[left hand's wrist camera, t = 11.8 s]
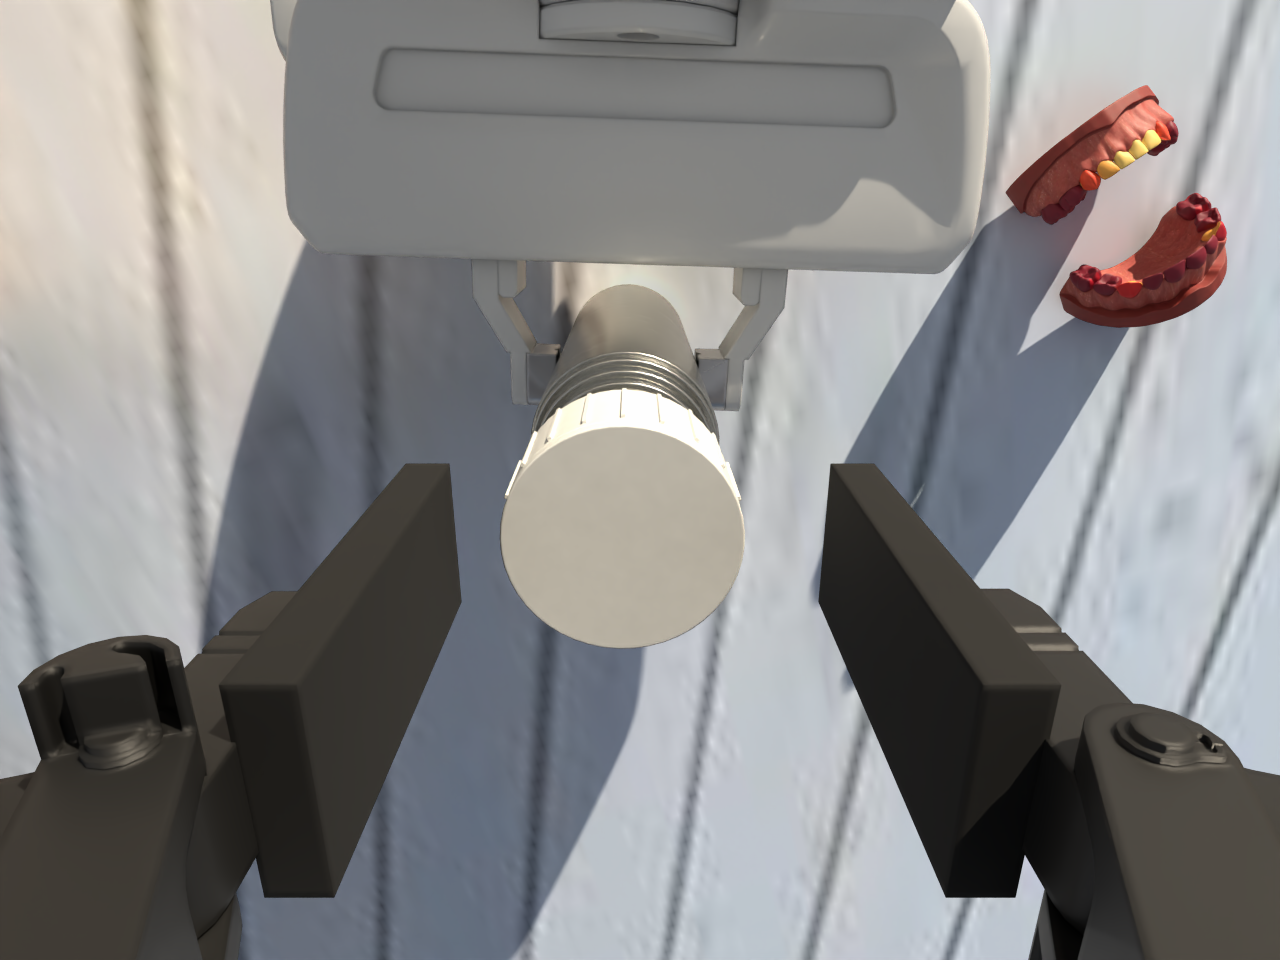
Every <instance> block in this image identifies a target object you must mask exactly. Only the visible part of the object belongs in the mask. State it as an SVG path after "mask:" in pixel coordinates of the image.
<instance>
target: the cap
mask: <svg viewBox="0 0 1280 960" xmlns="http://www.w3.org/2000/svg"><path fill="white" fill-rule="evenodd" d="M504 499H507V500H506V503H505V506H504V509H503V513H502V519H501V524H500V546H501V555H502V559H503V563H504V567H505V570H506V572H507V575H508V577H509V580H510V582H511V584H512V585H513V587H514V589H515V591H516V593H517V594H518V596H519V597H520V598H521V599H522V601H523V602H524V603H525V605H526V606H527V607H528V608H529V609H530V610H531V611H532V612H533V613H534V614H535V615H536V616H537V617H538V618H539V619H541V620H542V621H543V622H544V623H546V624H547V625H548V626H550V627H551V628H553V629H555V630H556V631H558V632H559V633H561V634H563V635H565V636H568V637H570V638H572V639H574V640H577V641H580V642H583V643H586V644H590V645H595V646H600V647H606V648H617V649H624V648H639V647H646V646H651V645H655V644H659V643H663V642H666V641H668V640H671V639H673V638H676V637H678V636H680V635H682V634H684V633H686V632H687V631H689V630H691V629H693V628H694V627H695V626H697V625H698V624H700V623H701V622H702V621H704V620H705V619H706V618H707V617H708V616H709V615H710V614H711V613H713V612H714V611H715V609H716V608H717V607H718V606H719V605H720V603H721V602H722V601H723V600H724V598H725V597H726V595H727V594H728V592H729V591H730V589H731V588H732V586H733V583H734V581H735V579H736V577H737V575H738V572H739V569H740V566H741V562H742V558H743V552H744V543H745V530H744V522H743V516H742V512H741V508H740V505H739V501H740V500H741V497H740V494H739V491H738V488H737V485H736V483H735V480H734V477H733V474H732V471H731V468H730V466H729V463H728V462H726V463H725V460H724V457H723V455H722V453H721V450H720V448H719V445H718V442H717V439H716V436H715V434H714V433H712V434H711V433H710V432H709V430H708V429H707V428H706V427H705V425H704V424H703V423H702V422H701V421H700V420H699V419H698V418H697V417H695V416H694V415H693V413H692V411H691V410H690V409H688V410H686V409H685V408H684V407H682V406H681V405H679V404H677V403H675V402H673V401H671V400H669V399H667V398H664V397H662V396H661V394H658V393H657V395H656V394H652V393H648V392H643V391H636V390H627V389H626V388H622V390H610V391H604V392H598V393H595V394H591V393H589V394H587V396H585V397H583V398H580V399H578V400H576V401H574V402H571V403H570V404H568V405H567V406H565V407H563V408H562V409H560V408H558V409H557V410H556V412H555V414H554V415H553V416H551V417H550V418H549V419H548V420H547V421H546V422H545V423H544V424H543V426H542V427H541V428H540V429H539V430H538V432H536V431H534V433H533V434H532V437H531V439H530V442H529V444H528V446H527V449H526V451H525V454H524V456H523V459H522V461H521V460H519V463H518V465H517V467H516V470H515V472H514V474H513V477H512V479H511V482H510V484H509V486H508V489H507V491H506V494H505V497H504Z"/></svg>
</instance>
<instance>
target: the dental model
mask: <svg viewBox="0 0 1280 960" xmlns="http://www.w3.org/2000/svg"><path fill="white" fill-rule="evenodd" d="M1158 104H1159V100H1158V99H1157V97H1156V96H1155V94H1154V93H1153V92H1152V90H1151V89H1150V88H1149V87H1148V86H1147V85H1145V86H1142V87H1140V88H1138V89H1136V90H1134V91H1132V92H1131V93H1129V94H1127V95H1126V96H1124V97H1122V98H1120V99H1119V100H1117V101H1116V102H1114V103H1113V104H1111V105H1109V106H1108V107H1106V108H1105V109H1103V110H1102V111H1100V112H1099V113H1098V114H1096V115H1095V116H1093V117H1092V118H1091V119H1089V120H1088V121H1087V122H1085V123H1084V124H1082V125H1081V126H1080V127H1078V128H1077V129H1076V130H1075V131H1073V132H1072V133H1071V134H1069V135H1068V136H1067V137H1065V138H1064V139H1062V140H1061V141H1060V142H1059V143H1057V144H1056V145H1055V146H1054V147H1052V148H1051V149H1050V150H1049V151H1048V152H1046V153H1045V154H1044V155H1043V156H1041V157H1040V158H1039V159H1038V160H1037V161H1036V162H1035V163H1034V164H1032V165H1031V166H1030V167H1029V168H1028V169H1027V170H1026V171H1025V172H1024V173H1023V174H1022V175H1020V176H1019V178H1018V179H1017V180H1016V181H1015V182H1014V183H1013V184H1012V185H1011V186H1010V187H1009V189H1008V190H1007V191H1006V194H1007V195H1008V197H1009V198H1010V199H1011V201H1012V202H1013V204H1014V205H1015V206H1016V208H1017V209H1018V211H1019V212H1020V213H1021V214H1022V213H1023V212H1025V213H1026V214H1028V215H1030V216H1033V217H1038V216H1042V218H1043V219H1044V221H1045V222H1046V223H1048V224H1054V223H1056V222H1057V221H1058V220H1059V219H1061V218H1063V217H1065V216H1067V214H1068V213H1070V212H1072V211H1073V210H1074V208H1075V205H1077V204H1079V203H1080V201H1082V200H1084V198H1085V196H1086V193H1087V190H1095V189H1098V187H1099V185H1100V182H1101V179H1100V177H1101V178H1102V179H1107V178H1109V177H1111V176H1113V175H1114V174H1116V173H1117V172H1118V171H1120V169H1123V168H1125V167H1126V166H1128V165H1130V164H1131V163H1132V162H1134V161H1135V160H1134V158H1135V159H1136V160H1137V159H1138V158H1140V157H1141V156H1143V155H1144V154H1146V153H1148V154H1149V155H1152V156H1157V155H1158V154H1159V153H1160V152H1162V151H1163V150H1165V149H1166V148H1168V147H1169V146H1170V145H1171V144H1175V143H1176V142H1177V138H1178V129H1177V126H1176V124H1175V123H1174V122H1173V121H1174V119H1173V117H1172V116H1171V115H1170V114H1168V113H1167V112H1166V111H1164V110H1163V109H1162V108H1161V107H1159V106H1158ZM1128 152H1129V153H1130V154H1131V155H1132V156H1133V157H1134V158H1133V157H1132V156H1131V155H1130V154H1129V153H1128ZM1113 161H1114V162H1115V163H1114V162H1113ZM1095 172H1098V174H1099V175H1098V174H1096V173H1095ZM1226 234H1227V232H1226V228H1225V226H1224V224H1223V222H1222V221H1221V216H1220V214H1219V212H1218V209H1217V208H1212V209H1211V203H1210V202H1209V201H1208V199H1207V198H1205V197H1202V196H1201V195H1200V194H1198V193H1194V194H1192V195H1190V196H1188V198H1187V199H1186V200H1185V201H1181V202H1178V203H1177V205H1176V206H1175V207H1173V208H1172V209H1171V210H1170V211H1168V212H1167V213H1166V214H1165V215H1164V216H1163V217H1162V219H1161V221H1160V223H1159V225H1158V227H1157V229H1156V231H1155V232H1154V234H1153V235H1152V237H1151V238H1150V239H1149V240H1148V241H1147V243H1146V244H1145V245H1144V246H1143V247H1142V248H1141V249H1140V250H1139V251H1138V252H1136V253H1135V254H1134V255H1133V256H1131V257H1130V258H1128V259H1127V260H1125V261H1124V262H1122V263H1120V264H1118V265H1116V266H1114V267H1112V268H1109V269H1105V270H1099V269H1098V268H1096V267H1091V266H1088V265H1081V266H1080V267H1079V269H1078V270H1076V271H1073V272H1071V273H1070V277H1069V279H1068V280H1067V282H1066V283H1065V285H1064V286H1063V288H1062V290H1061V292H1060V298H1061V301H1062V305H1063V308H1064V310H1065V311H1066V312H1067V313H1069V314H1071V315H1072V316H1074V317H1076V318H1078V319H1081V320H1083V321H1086V322H1089V323H1092V324H1096V325H1101V326H1109V327H1118V328H1121V327H1140V326H1147V325H1152V324H1156V323H1160V322H1164V321H1167V320H1170V319H1173V318H1176V317H1178V316H1181V315H1183V314H1185V313H1187V312H1189V311H1191V310H1193V309H1195V308H1196V307H1198V306H1199V305H1201V304H1202V303H1203V302H1205V301H1206V300H1207V299H1208V298H1210V297H1211V296H1212V295H1213V294H1214V292H1215V291H1216V290H1217V289H1218V287H1219V286H1220V285H1221V283H1222V281H1223V279H1224V277H1225V274H1226V269H1227V256H1226V249H1225V243H1226Z"/></svg>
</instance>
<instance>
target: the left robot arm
mask: <svg viewBox="0 0 1280 960" xmlns="http://www.w3.org/2000/svg"><path fill="white" fill-rule="evenodd" d="M460 604H461V591H460V579H459V568H458V557H457V545H456V534H455V522H454V511H453V500H452V488H451V477H450V466H449V464H405V465H404V467H403V468H402V469H401V470H400V471H399V472H398V474H397V475H396V476H395V477H394V478H393V480H392V481H391V482H390V483H389V484H388V485H387V487H386V488H385V489H384V490H383V491H382V493H381V494H380V495H379V496H378V497H377V498H376V500H375V501H374V502H373V503H372V504H371V506H370V507H369V508H368V509H367V510H366V511H365V513H364V514H363V515H362V516H361V517H360V518H359V520H358V521H357V522H356V523H355V524H354V526H353V527H352V528H351V529H350V530H349V531H348V533H347V534H346V535H345V536H344V537H343V539H342V540H341V541H340V542H339V543H338V544H337V546H336V547H335V548H334V549H333V550H332V552H331V553H330V554H329V555H328V556H327V557H326V559H325V560H324V561H323V562H322V563H321V565H320V566H319V567H318V568H317V569H316V570H315V572H314V573H313V574H312V575H311V576H310V578H309V579H308V580H307V581H306V582H305V583H304V585H303V586H302V587H301V588H300V589H299V590H298V591H272V592H270V593H268V594H266V595H265V596H263V597H261V598H259V599H258V600H256V601H254V602H252V603H251V604H249V605H247V606H245V607H244V608H242V609H240V610H239V611H238V612H237V613H236V614H235V615H234V616H233V617H232V618H231V619H230V621H229V622H228V623H227V624H226V625H225V626H224V627H223V628H222V629H221V630H220V631H219V636H214V637H213V638H212V640H211V641H210V642H209V643H208V644H207V645H206V646H205V647H204V648H203V649H202V654H197V655H196V656H195V657H194V659H193V660H192V661H191V662H190V663H189V664H188V665H187V666H186V667H185V668H184V666H183V662H182V657H181V653H180V649H179V646H177V645H176V644H174V643H173V642H171V641H170V640H169V639H167V638H161V637H155V636H149V635H140V636H125V637H116V638H112V639H108V640H103V641H99V642H95V643H90V644H87V645H84V646H82V647H79V648H77V649H74V650H71V651H69V652H66V653H64V654H61V655H58V656H57V657H55V658H53V659H52V660H50V661H48V662H47V663H45V664H43V665H41V666H40V667H38V668H36V669H35V670H33V671H32V672H31V673H30V674H29V675H28V676H27V677H26V678H25V679H24V680H23V681H22V682H21V683H20V684H19V685H18V688H19V692H20V695H21V698H22V701H23V704H24V707H25V710H26V713H27V717H28V720H29V723H30V726H31V729H32V732H33V735H34V738H35V742H36V745H37V748H38V751H39V754H40V757H41V761H40V763H39V765H38V767H37V769H36V771H35V772H33V773H29V774H24V775H19V776H14V777H9V778H4V779H0V960H238V955H239V947H240V940H241V932H242V920H241V913H240V907H239V903H238V899H237V894H236V891H237V889H238V888H239V886H240V884H241V882H242V881H243V879H244V877H245V875H246V874H247V872H248V870H249V869H250V867H251V865H252V863H253V862H254V860H255V858H256V860H257V865H258V870H259V874H260V879H261V883H262V888H263V893H264V897H265V898H334V897H335V894H336V892H337V890H338V887H339V885H340V883H341V881H342V878H343V876H344V874H345V871H346V869H347V867H348V864H349V862H350V860H351V857H352V855H353V853H354V850H355V848H356V846H357V843H358V841H359V839H360V836H361V834H362V832H363V829H364V827H365V825H366V822H367V820H368V818H369V816H370V813H371V811H372V809H373V806H374V804H375V802H376V799H377V797H378V795H379V792H380V790H381V788H382V785H383V783H384V781H385V778H386V776H387V774H388V771H389V769H390V767H391V764H392V762H393V760H394V757H395V755H396V753H397V751H398V748H399V746H400V744H401V741H402V739H403V737H404V734H405V732H406V730H407V727H408V725H409V723H410V720H411V718H412V716H413V713H414V711H415V709H416V706H417V704H418V702H419V699H420V697H421V695H422V692H423V690H424V688H425V685H426V683H427V681H428V679H429V676H430V674H431V672H432V669H433V667H434V665H435V662H436V660H437V658H438V655H439V653H440V651H441V648H442V646H443V644H444V641H445V639H446V637H447V634H448V632H449V630H450V627H451V625H452V623H453V620H454V618H455V616H456V614H457V611H458V609H459V607H460ZM819 604H820V607H821V609H822V611H823V614H824V616H825V618H826V620H827V623H828V625H829V627H830V630H831V632H832V634H833V637H834V639H835V641H836V644H837V646H838V648H839V651H840V653H841V655H842V658H843V660H844V662H845V665H846V667H847V669H848V672H849V674H850V676H851V679H852V681H853V683H854V685H855V688H856V690H857V692H858V695H859V697H860V699H861V702H862V704H863V706H864V709H865V711H866V713H867V716H868V718H869V720H870V723H871V725H872V727H873V730H874V732H875V734H876V737H877V739H878V741H879V744H880V746H881V748H882V751H883V753H884V755H885V757H886V760H887V762H888V764H889V767H890V769H891V771H892V774H893V776H894V778H895V781H896V783H897V785H898V788H899V790H900V792H901V795H902V797H903V799H904V802H905V804H906V806H907V809H908V811H909V813H910V816H911V818H912V820H913V822H914V825H915V827H916V829H917V832H918V834H919V836H920V839H921V841H922V843H923V846H924V848H925V850H926V853H927V855H928V857H929V860H930V862H931V864H932V867H933V869H934V871H935V874H936V876H937V878H938V881H939V883H940V885H941V887H942V890H943V892H944V894H945V897H946V898H1015V897H1016V893H1017V888H1018V883H1019V879H1020V874H1021V870H1022V865H1023V860H1024V856H1026V857H1027V859H1028V861H1029V863H1030V864H1031V866H1032V868H1033V870H1034V871H1035V873H1036V875H1037V876H1038V878H1039V880H1040V882H1041V883H1042V885H1043V887H1044V889H1045V890H1044V894H1043V899H1042V903H1041V907H1040V911H1039V916H1038V920H1037V924H1036V929H1035V933H1034V937H1033V942H1032V946H1031V950H1030V954H1029V959H1028V960H1280V775H1275V774H1270V773H1265V772H1260V771H1255V770H1250V769H1247V768H1244V767H1243V765H1242V764H1241V762H1240V760H1239V758H1238V757H1237V756H1236V755H1235V753H1234V752H1233V751H1232V750H1231V749H1230V747H1229V746H1228V745H1227V744H1226V743H1225V741H1223V740H1222V739H1220V738H1219V737H1218V736H1216V735H1215V734H1213V733H1212V732H1210V731H1209V730H1207V729H1206V728H1205V727H1203V726H1202V725H1200V724H1198V723H1195V722H1193V721H1191V720H1189V719H1187V718H1184V717H1182V716H1180V715H1178V714H1175V713H1173V712H1170V711H1166V710H1162V709H1159V708H1155V707H1151V706H1148V705H1144V704H1133V703H1132V702H1131V701H1130V700H1129V699H1128V698H1127V697H1126V696H1125V695H1124V694H1123V693H1122V691H1121V690H1120V689H1119V688H1118V687H1117V686H1116V685H1115V684H1114V683H1113V682H1112V681H1111V680H1110V679H1109V678H1108V677H1107V676H1106V675H1105V674H1104V673H1103V672H1102V671H1101V670H1100V668H1099V667H1098V666H1097V665H1096V664H1095V663H1094V662H1093V661H1092V660H1091V659H1090V658H1089V657H1088V656H1087V655H1086V654H1085V653H1084V652H1083V651H1079V650H1078V645H1077V644H1076V643H1075V642H1074V641H1073V640H1072V639H1071V638H1070V637H1069V636H1068V635H1067V634H1066V633H1062V632H1061V628H1060V627H1059V626H1058V624H1057V623H1056V622H1055V621H1054V620H1053V619H1052V618H1051V617H1050V616H1049V615H1048V614H1047V613H1046V612H1045V611H1044V610H1043V609H1042V608H1041V607H1040V606H1038V605H1036V604H1035V603H1033V602H1031V601H1029V600H1028V599H1026V598H1024V597H1022V596H1020V595H1019V594H1017V593H1015V592H1013V591H1012V590H1010V589H980V588H979V587H978V586H977V585H976V583H975V582H974V581H973V580H972V579H971V578H970V576H969V575H968V574H967V573H966V572H965V570H964V569H963V568H962V567H961V566H960V565H959V563H958V562H957V561H956V560H955V559H954V557H953V556H952V555H951V554H950V553H949V552H948V550H947V549H946V548H945V547H944V546H943V544H942V543H941V542H940V541H939V540H938V539H937V537H936V536H935V535H934V534H933V533H932V531H931V530H930V529H929V528H928V527H927V526H926V524H925V523H924V522H923V521H922V520H921V518H920V517H919V516H918V515H917V514H916V513H915V511H914V510H913V509H912V508H911V507H910V506H909V504H908V503H907V502H906V501H905V500H904V498H903V497H902V496H901V495H900V494H899V493H898V491H897V490H896V489H895V488H894V487H893V485H892V484H891V483H890V482H889V481H888V480H887V478H886V477H885V476H884V475H883V474H882V472H881V471H880V470H879V469H878V468H877V467H876V465H875V464H831V466H830V477H829V488H828V500H827V511H826V522H825V534H824V545H823V557H822V568H821V579H820V591H819Z"/></svg>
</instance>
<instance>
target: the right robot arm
mask: <svg viewBox="0 0 1280 960" xmlns="http://www.w3.org/2000/svg"><path fill="white" fill-rule="evenodd" d="M270 3H271V12H272V21H273V29H274V34H275V38H276V41H277V44H278V47H279V50H280V52H281V54H282V56H283V58H284V60H285V61H286V67H285V84H284V111H283V149H284V175H285V193H286V204H287V210H288V215H289V217H290V219H291V221H292V223H293V224H294V226H295V227H296V228H297V229H298V230H299V231H300V233H301V234H302V235H303V236H304V237H305V239H306V240H307V241H308V242H309V243H310V244H311V246H312V247H313V248H314V249H315V250H316V251H318V252H320V253H323V254H339V255H369V256H399V257H430V258H460V259H471V263H472V289H473V298H474V300H475V302H476V303H477V305H478V307H479V308H480V310H481V312H482V313H483V315H484V316H485V318H486V320H487V321H488V323H489V325H490V326H491V328H492V329H493V331H494V333H495V334H496V336H497V338H498V339H499V341H500V343H501V344H502V346H503V347H504V349H505V351H506V352H510V357H511V396H512V402H513V404H518V405H528V404H529V405H539V403H540V401H541V399H542V396H543V394H544V392H545V389H546V387H547V385H548V382H549V380H550V378H551V376H552V373H553V371H554V369H555V366H556V364H557V362H558V359H559V357H560V355H561V345H559V344H540V343H537V341H536V340H535V338H534V336H533V334H532V332H531V331H530V329H529V327H528V325H527V323H526V322H525V320H524V318H523V316H522V314H521V313H520V311H519V309H518V307H517V305H516V304H515V302H514V300H513V298H515V297H516V296H517V295H518V294H519V293H520V292H521V291H522V290H523V289H524V288H525V287H526V261H551V262H581V263H611V264H641V265H672V266H702V267H732V268H734V278H733V294H734V296H735V297H736V298H737V299H738V300H739V301H740V302H741V303H742V304H743V305H745V307H744V308H743V310H742V312H741V313H740V315H739V316H738V318H737V319H736V321H735V323H734V324H733V326H732V327H731V329H730V330H729V332H728V334H727V335H726V337H725V338H724V340H723V341H722V343H721V345H720V346H719V349H695V357H694V358H695V361H696V364H697V367H698V369H699V372H700V375H701V377H702V380H703V383H704V386H705V388H706V391H707V394H708V397H709V399H710V402H711V405H712V407H713V410H717V411H739V409H740V404H741V396H742V384H743V371H744V360H748V359H749V358H750V356H751V355H752V354H753V352H754V351H755V349H756V348H757V346H758V345H759V344H760V342H761V341H762V339H763V338H764V336H765V335H766V333H767V332H768V331H769V329H770V328H771V326H772V325H773V323H774V322H775V320H776V319H777V318H778V316H779V315H780V313H781V312H782V310H783V309H784V305H785V295H786V285H787V275H788V269H792V270H823V271H853V272H883V273H914V274H938V273H940V272H942V271H944V270H945V269H946V268H947V267H948V266H949V265H950V264H951V263H952V262H953V261H954V260H955V259H956V258H957V256H958V255H959V254H960V253H961V252H962V251H963V250H964V249H965V247H966V246H967V245H968V244H969V243H970V241H971V239H972V237H973V234H974V231H975V227H976V222H977V217H978V212H979V206H980V200H981V193H982V186H983V178H984V170H985V160H986V150H987V138H988V124H989V104H990V54H989V47H988V41H987V36H986V33H985V29H984V26H983V24H982V21H981V19H980V17H979V15H978V14H977V12H976V11H975V9H974V8H973V6H972V5H971V4H970V3H969V2H968V1H967V0H270Z"/></svg>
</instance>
